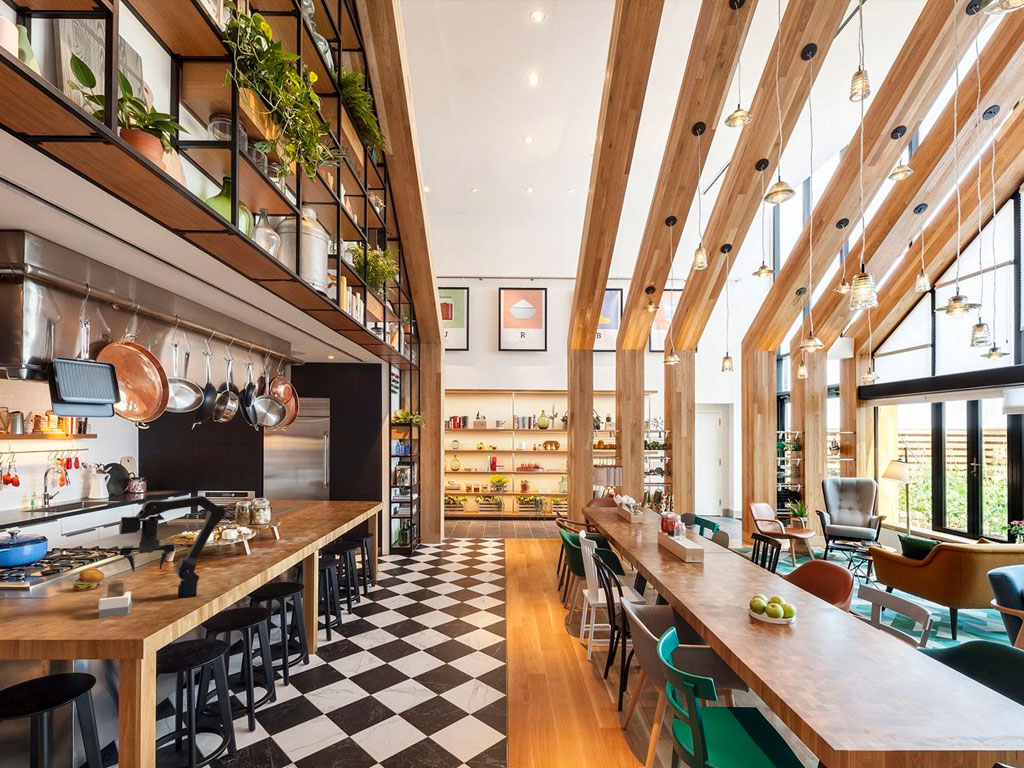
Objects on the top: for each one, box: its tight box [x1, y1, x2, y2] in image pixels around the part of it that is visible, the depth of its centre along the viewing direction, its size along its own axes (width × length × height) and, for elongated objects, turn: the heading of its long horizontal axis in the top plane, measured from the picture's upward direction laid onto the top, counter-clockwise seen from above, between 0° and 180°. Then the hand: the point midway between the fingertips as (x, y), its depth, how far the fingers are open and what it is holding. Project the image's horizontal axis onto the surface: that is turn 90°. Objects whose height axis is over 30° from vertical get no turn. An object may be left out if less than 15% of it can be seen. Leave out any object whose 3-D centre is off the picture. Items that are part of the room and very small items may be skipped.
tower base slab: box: [98, 599, 133, 619], centre depth 210 cm, size 9×9×4 cm
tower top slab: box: [98, 590, 132, 611], centre depth 210 cm, size 9×9×4 cm
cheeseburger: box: [72, 567, 105, 592], centre depth 243 cm, size 10×11×10 cm
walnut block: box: [106, 579, 127, 598], centre depth 211 cm, size 5×5×5 cm
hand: (147, 570), depth 225 cm, fingers open, 9 cm apart
